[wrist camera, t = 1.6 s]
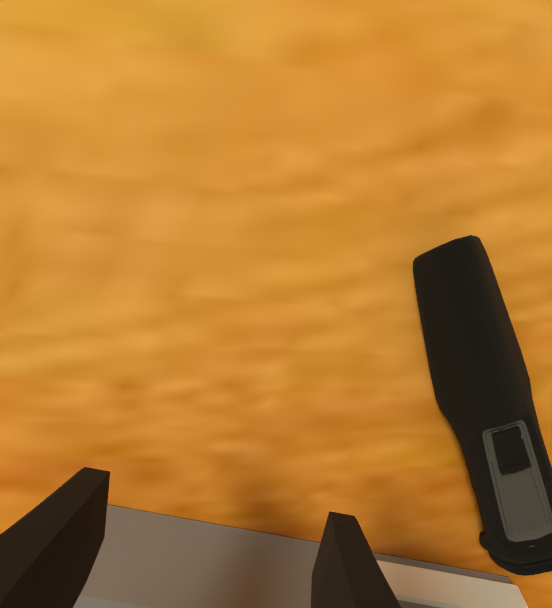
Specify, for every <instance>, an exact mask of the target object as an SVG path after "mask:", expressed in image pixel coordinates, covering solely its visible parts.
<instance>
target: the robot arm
mask: <svg viewBox="0 0 552 608" xmlns="http://www.w3.org/2000/svg"><path fill="white" fill-rule="evenodd" d="M109 477H110V472H109V471H103V470H98V469H92V468H87V467H84V468H83V469H81V470H80V471H78V472H77V473H76V474H75V475H74V476H73V477H71V478H70V479H69V480H68V481H67V482H65V483H64V484H63V485H62V486H61V487H60V488H58V489H57V490H56V491H55V492H54V493H52V494H51V495H50V496H49V497H47V498H46V499H45V500H44V501H43V502H41V503H40V504H39V505H38V506H36V507H35V508H34V509H33V510H31V511H30V512H29V513H28V514H26V515H25V516H24V517H22V518H21V519H20V520H19V521H17V522H16V523H15V524H13V525H12V526H11V527H10V528H8V529H7V530H6V531H4V532H3V533H2V534H0V608H73V607H74V605H75V603H76V601H77V599H78V597H79V595H80V593H81V591H82V590H83V588H84V586H85V584H86V582H87V579H88V577H89V575H90V572H91V570H92V567H93V565H94V563H95V560H96V558H97V555H98V553H99V550H100V548H101V545H102V542H103V540H104V537H105V526H106V514H107V501H108V489H109ZM311 608H402V607H401V606H400V604H399V602H398V600H397V598H396V596H395V595H394V593H393V591H392V589H391V587H390V586H389V584H388V582H387V580H386V578H385V576H384V574H383V572H382V570H381V569H380V567H379V565H378V563H377V561H376V559H375V557H374V555H373V553H372V551H371V549H370V546H369V544H368V542H367V540H366V538H365V536H364V534H363V532H362V530H361V527H360V525H359V523H358V521H357V519H356V518H355V516H351V515H346V514H340V513H335V512H329V515H328V519H327V522H326V526H325V529H324V533H323V536H322V540H321V543H320V547H319V550H318V554H317V557H316V561H315V565H314V568H313V572H312V582H311Z"/></svg>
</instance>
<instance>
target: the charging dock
mask: <svg viewBox="0 0 552 608" xmlns="http://www.w3.org/2000/svg"><path fill="white" fill-rule="evenodd" d="M319 547H320V543H318V542H313V541H307V540H301V539H296V538H290V537H285V536H279V535H274V534H268V533H263V532H257V531H251V530H246V529H240V528H235V527H229V526H224V525H218V524H213V523H207V522H201V521H196V520H190V519H185V518H179V517H174V516H168V515H163V514H157V513H151V512H146V511H140V510H135V509H129V508H124V507H118V506H113V505H107V514H106V526H105V537H104V540H103V542H102V545H101V548H100V550H99V553H98V555H97V558H96V560H95V563H94V565H93V567H92V570H91V572H90V575H89V577H88V579H87V582H86V584H85V586H84V588H83V590H82V591H81V593H80V595H79V597H78V599H77V601H76V603H75V605H74V607H73V608H311V582H312V572H313V568H314V565H315V561H316V557H317V554H318V550H319ZM372 553H373V555H374V557H375V559H376V561H377V563H378V565H379V567H380V569H381V570H382V572H383V574H384V576H385V578H386V580H387V582H388V584H389V586H390V587H391V589H392V591H393V593H394V595H395V596H396V598H397V600H398V602H399V604H400V606H401V607H402V608H528V606H527V604H526V602H525V600H524V598H523V596H522V594H521V592H520V590H519V588H518V586H517V585H513V584H512V583H511V581H510V579H509V577H507V576H501V575H496V574H490V573H485V572H479V571H474V570H468V569H463V568H457V567H451V566H446V565H440V564H435V563H429V562H424V561H418V560H413V559H407V558H401V557H396V556H390V555H385V554H379V553H374V552H372Z"/></svg>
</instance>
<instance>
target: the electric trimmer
mask: <svg viewBox="0 0 552 608" xmlns="http://www.w3.org/2000/svg"><path fill="white" fill-rule="evenodd" d="M413 274H414V281H415V288H416V294H417V301H418V306H419V312H420V317H421V323H422V329H423V334H424V340H425V345H426V351H427V356H428V362H429V368H430V373H431V378H432V382H433V387H434V391H435V396H436V400H437V402H438V405H439V407H440V409H441V411H442V412H443V413H444V415H445V416H446V418H447V419H448V420H449V422H450V423H451V425H452V427H453V430H454V432H455V434H456V436H457V438H458V440H459V442H460V445H461V448H462V451H463V454H464V458H465V461H466V465H467V468H468V471H469V475H470V478H471V481H472V485H473V488H474V491H475V495H476V498H477V501H478V505H479V509H480V513H481V517H482V521H483V525H484V529H485V531H483V532H481V533H480V544H481V545H482V546H483V548H484V549H486V550H487V551H488V552H489V554H490V557H491V558H492V560H493V561H494V562H495V563H496V564H497V565H498V566H500V567H502V568H504V569H506V570H507V571H509V572H512V573H515V574H517V575H535V574H540V573H544V572H549V571H552V467H551V464H550V461H549V457H548V454H547V451H546V448H545V445H544V441H543V438H542V435H541V432H540V428H539V424H538V420H537V416H536V412H535V407H534V403H533V399H532V392H531V385H530V379H529V375H528V372H527V369H526V366H525V362H524V359H523V356H522V353H521V349H520V347H519V344H518V341H517V338H516V335H515V332H514V329H513V326H512V324H511V321H510V318H509V315H508V312H507V309H506V306H505V303H504V301H503V298H502V295H501V292H500V289H499V286H498V283H497V280H496V278H495V275H494V272H493V269H492V266H491V263H490V261H489V258H488V256H487V253H486V251H485V249H484V247H483V245H482V242H481V240H480V238H478V237H477V236H472V235H470V236H466V237H462V238H458V239H455V240H452V241H450V242H448V243H445V244H443V245H440V246H438V247H436V248H434V249H432V250H430V251H428V252H425V253H423V254H421V255H420V256H418V257H417V258H415V260H414V261H413ZM506 525H507V526H506Z"/></svg>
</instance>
